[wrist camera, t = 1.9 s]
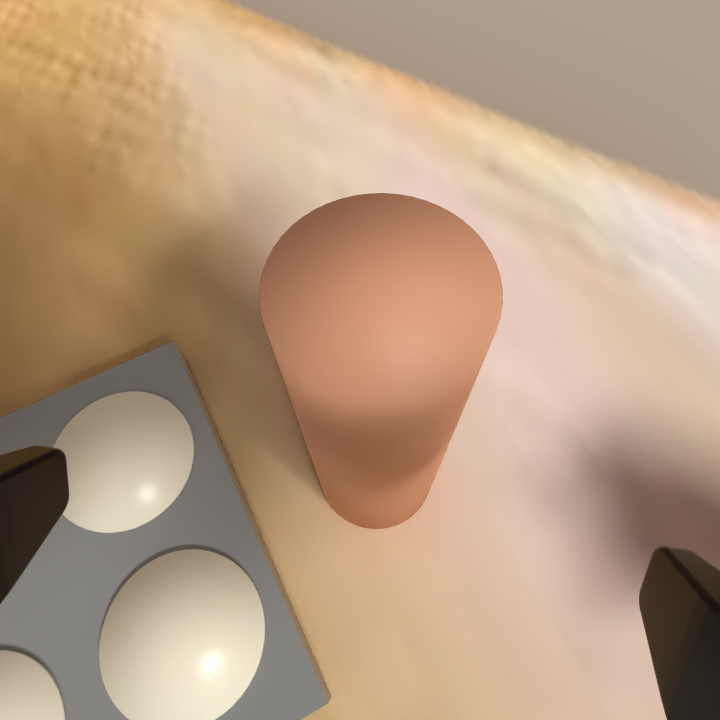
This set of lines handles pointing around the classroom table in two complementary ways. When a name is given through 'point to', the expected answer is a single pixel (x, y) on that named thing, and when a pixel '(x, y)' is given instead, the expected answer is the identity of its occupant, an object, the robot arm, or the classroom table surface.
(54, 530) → the pattern board
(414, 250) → the terracotta pin
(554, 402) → the classroom table surface
